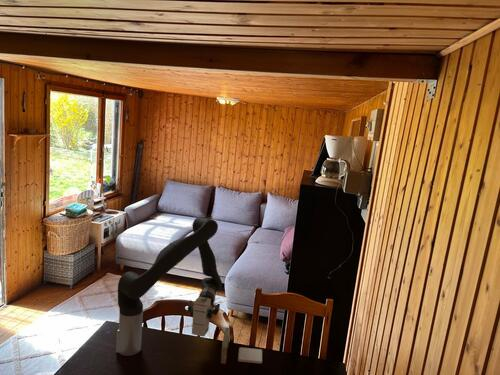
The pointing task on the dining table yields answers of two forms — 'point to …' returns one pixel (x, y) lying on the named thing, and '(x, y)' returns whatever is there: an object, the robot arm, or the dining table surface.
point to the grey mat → (250, 355)
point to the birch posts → (224, 353)
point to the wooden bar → (226, 337)
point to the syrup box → (201, 316)
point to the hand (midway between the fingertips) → (200, 315)
